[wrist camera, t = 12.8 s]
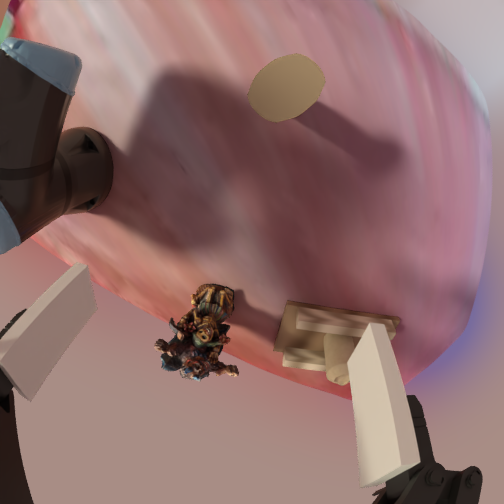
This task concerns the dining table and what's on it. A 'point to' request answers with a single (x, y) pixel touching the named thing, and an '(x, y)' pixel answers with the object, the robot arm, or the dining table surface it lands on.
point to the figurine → (200, 335)
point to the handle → (286, 87)
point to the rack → (321, 331)
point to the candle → (338, 357)
